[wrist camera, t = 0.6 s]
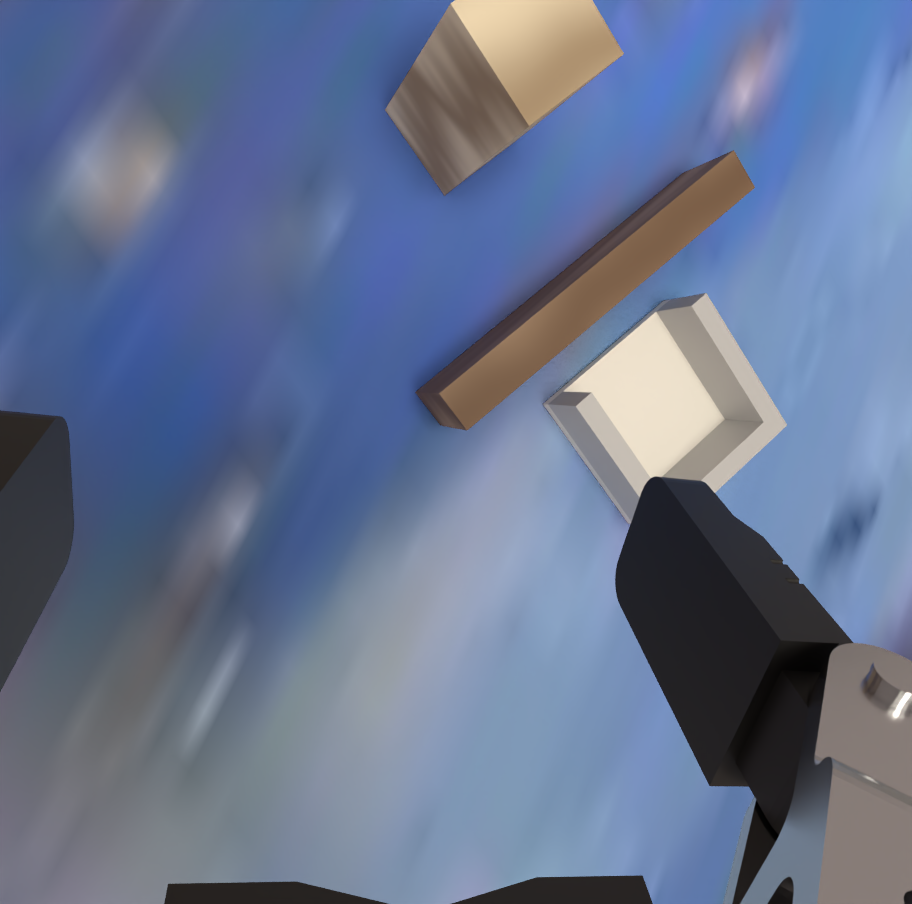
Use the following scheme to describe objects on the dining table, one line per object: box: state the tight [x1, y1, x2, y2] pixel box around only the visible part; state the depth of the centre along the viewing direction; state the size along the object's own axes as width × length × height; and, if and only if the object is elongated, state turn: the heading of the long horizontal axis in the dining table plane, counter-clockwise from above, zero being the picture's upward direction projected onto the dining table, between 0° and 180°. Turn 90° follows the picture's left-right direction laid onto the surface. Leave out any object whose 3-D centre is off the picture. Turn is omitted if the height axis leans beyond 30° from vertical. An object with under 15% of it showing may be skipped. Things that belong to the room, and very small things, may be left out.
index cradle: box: [543, 293, 787, 524], centre depth 37 cm, size 8×8×4 cm
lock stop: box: [385, 0, 624, 196], centre depth 30 cm, size 4×4×10 cm
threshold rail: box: [415, 150, 755, 430], centre depth 35 cm, size 2×18×4 cm, turn 128°
